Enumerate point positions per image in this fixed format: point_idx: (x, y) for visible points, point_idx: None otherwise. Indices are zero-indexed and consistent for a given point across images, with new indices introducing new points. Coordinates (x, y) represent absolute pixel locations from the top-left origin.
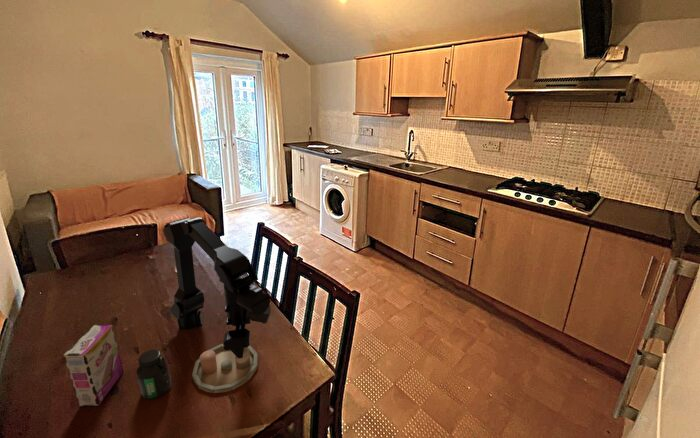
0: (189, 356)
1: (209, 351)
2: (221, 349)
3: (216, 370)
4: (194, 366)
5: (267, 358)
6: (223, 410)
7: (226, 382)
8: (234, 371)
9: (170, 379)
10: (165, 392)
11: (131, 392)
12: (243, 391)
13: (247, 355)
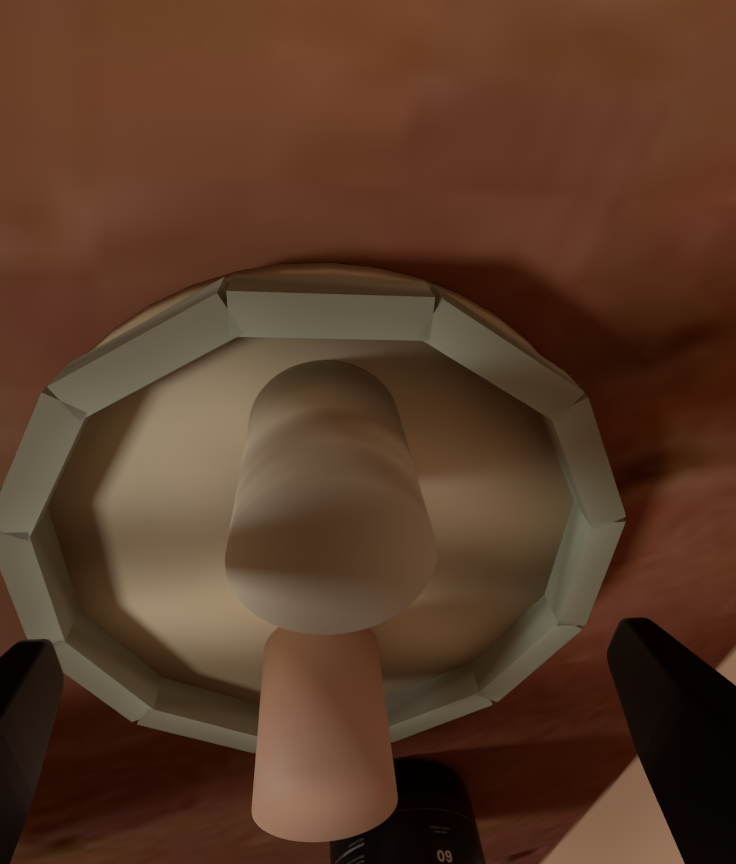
0: (137, 745)
1: (267, 806)
2: (85, 613)
3: None
4: None
5: (237, 130)
6: (710, 513)
7: (505, 539)
8: None
9: (401, 827)
10: (454, 793)
11: None
12: (619, 396)
13: (401, 471)
